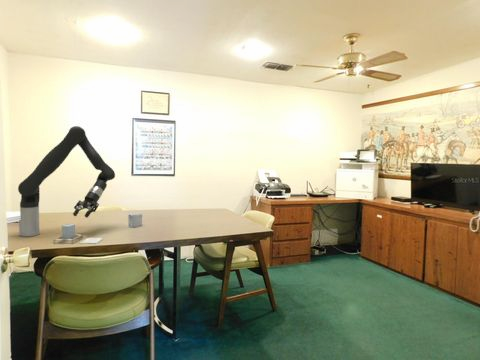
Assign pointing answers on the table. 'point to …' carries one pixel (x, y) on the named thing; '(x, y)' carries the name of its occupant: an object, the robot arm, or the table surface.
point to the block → (68, 231)
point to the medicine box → (135, 220)
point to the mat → (92, 240)
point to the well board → (68, 241)
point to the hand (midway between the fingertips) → (80, 216)
